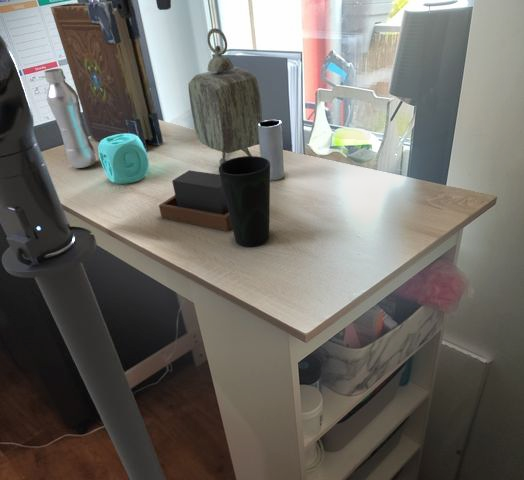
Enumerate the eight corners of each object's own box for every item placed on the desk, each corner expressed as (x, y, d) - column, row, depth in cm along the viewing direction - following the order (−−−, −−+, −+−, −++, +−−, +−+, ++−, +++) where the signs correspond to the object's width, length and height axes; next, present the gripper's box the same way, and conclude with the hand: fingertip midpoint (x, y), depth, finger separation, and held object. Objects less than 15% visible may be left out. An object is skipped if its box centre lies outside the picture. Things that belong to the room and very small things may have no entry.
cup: (239, 255, 74) (229, 179, 66) (222, 235, 79) (211, 163, 71) (283, 242, 76) (278, 167, 68) (264, 223, 81) (257, 152, 73)
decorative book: (163, 143, 120) (132, -3, 100) (141, 152, 116) (104, 2, 96) (108, 132, 132) (70, -1, 112) (87, 140, 128) (44, 4, 109)
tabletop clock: (266, 165, 102) (254, 27, 86) (230, 177, 99) (212, 35, 82) (231, 150, 112) (215, 23, 95) (198, 160, 108) (175, 30, 92)
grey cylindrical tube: (259, 180, 96) (254, 126, 89) (266, 171, 99) (262, 119, 93) (280, 181, 95) (276, 127, 88) (287, 172, 98) (284, 119, 91)
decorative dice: (138, 167, 108) (129, 130, 103) (152, 176, 103) (143, 138, 98) (105, 177, 105) (93, 140, 100) (118, 187, 100) (106, 148, 95)
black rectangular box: (239, 209, 85) (235, 176, 82) (223, 221, 82) (218, 187, 78) (195, 201, 90) (189, 169, 86) (178, 212, 87) (171, 180, 83)
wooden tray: (227, 231, 80) (225, 217, 79) (161, 218, 87) (158, 205, 85) (256, 208, 86) (255, 194, 85) (192, 197, 93) (190, 184, 91)
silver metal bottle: (77, 161, 115) (45, 68, 102) (103, 160, 114) (74, 66, 101) (65, 171, 110) (30, 74, 97) (92, 170, 109) (60, 72, 96)
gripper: (97, -149, 54) (133, 21, 65) (173, -143, 63) (194, 6, 74) (53, -139, 58) (95, 22, 68) (131, -134, 66) (158, 7, 77)
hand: (146, 13), depth 71 cm, fingers open, 8 cm apart
